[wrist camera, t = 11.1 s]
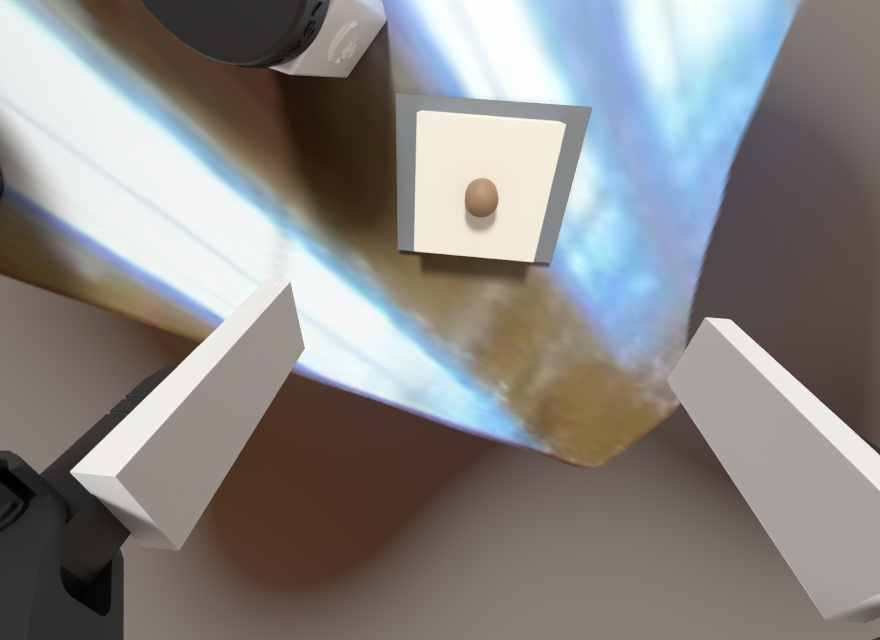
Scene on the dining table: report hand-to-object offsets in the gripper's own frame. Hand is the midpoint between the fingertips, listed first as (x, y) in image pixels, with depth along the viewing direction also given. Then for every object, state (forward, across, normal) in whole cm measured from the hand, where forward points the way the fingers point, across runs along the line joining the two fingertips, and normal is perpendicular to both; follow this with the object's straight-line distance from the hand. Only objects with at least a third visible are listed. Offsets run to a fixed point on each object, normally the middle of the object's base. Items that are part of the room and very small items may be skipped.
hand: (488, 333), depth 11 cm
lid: (+20, 0, 0) cm, 20 cm away
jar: (+21, -12, +11) cm, 26 cm away
